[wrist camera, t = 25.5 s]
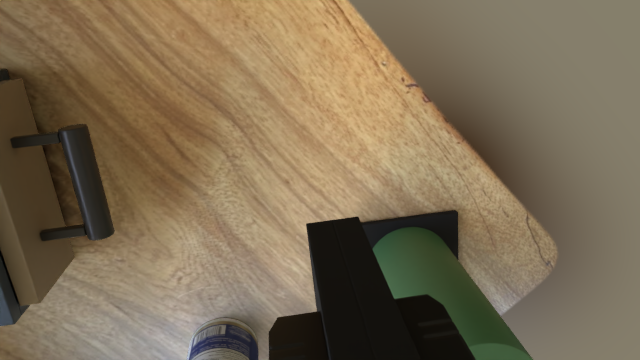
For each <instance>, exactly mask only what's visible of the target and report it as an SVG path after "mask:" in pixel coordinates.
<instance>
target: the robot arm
mask: <svg viewBox="0 0 640 360" xmlns="http://www.w3.org/2000/svg"><path fill="white" fill-rule="evenodd" d="M306 226H307V234H308V242H309V250H310V258H311V266H312V274H313V282H314V290H315V299H316V307H317V312H311V313H305V314H298V315H291V316H284V317H278V318H277V320H276V321H275V323H274V325H273V326H272V328H271V330H270V331H269V360H476V359H475V357H474V355H473V354H472V352H471V350H470V349H469V347H468V345H467V344H466V342H465V340H464V339H463V337H462V335H461V334H459V330H458V329H457V327H456V325H455V324H454V322H452V319H451V317H450V315H449V314H448V312H447V310H446V309H445V307H444V305H443V304H441V303H440V302H438V301H437V300H435V299H434V298H432V297H431V296H430V295H428V294H424V295H417V296H410V297H403V298H397V299H394V297H393V295H392V293H391V290H390V288H389V286H388V283H387V281H386V279H385V277H384V274H383V272H382V270H381V268H380V265H379V263H378V261H377V258H376V256H375V254H374V252H373V249H372V247H371V245H370V243H369V240H368V238H367V236H366V233H365V231H364V229H363V227H362V224H361V222H360V220H359V218H358V217H352V218H345V219H338V220H330V221H323V222H315V223H308V224H306Z"/></svg>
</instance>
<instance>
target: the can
mask: <svg viewBox="0 0 640 360" xmlns="http://www.w3.org/2000/svg"><path fill="white" fill-rule="evenodd" d="M373 252H374V254H375V256H376V258H377V261H378V263H379V265H380V268H381V270H382V272H383V274H384V277H385V279H386V281H387V283H388V286H389V288H390V290H391V293H392V295H393V297H394V299H397V298H403V297H410V296H417V295H424V294H428V295H430V296H431V297H432V298H434V299H435V300H437V301H438V302H440V303H441V304H443V305H444V307H445V309H446V310H447V312H448V314H449V315H450V317H451V319H452V322H454V324H455V325H456V327H457V329H458V330H459V334H461V335H462V337H463V339H464V340H465V342H466V344H467V345H468V347H469V349H470V350H471V352H472V354H473V355H474V357H475V359H476V360H533V359H532V358H531V356H530V355H529V354H528V352H527V351H526V350H525V348H524V347H523V346H522V344H521V343H520V342H519V340H518V339H517V338H516V336H515V335H514V334H513V332H512V331H511V330H510V328H509V327H508V326H507V325H506V323H505V322H504V321H503V319H502V318H501V317H500V315H499V314H498V313H497V311H496V310H495V309H494V307H493V306H492V305H491V303H490V302H489V301H488V299H487V298H486V297H485V295H484V294H483V293H482V291H481V290H480V289H479V287H478V286H477V285H476V283H475V282H474V281H473V279H472V278H471V277H470V276H469V274H468V273H467V272H466V270H465V269H464V268H463V266H462V265H461V264H460V262H459V261H458V260H457V258H456V257H455V256H454V254H453V253H452V252H451V250H450V249H449V248H448V246H447V245H446V244H445V242H444V241H443V240H442V239H441V238H440V237H439V236H438V235H437V234H435V233H434V232H432V231H430V230H427V229H424V228H419V227H406V228H401V229H398V230H395V231H393V232H390V233H389V234H387V235H385V236H384V237H383V238H382V239H380V240H379V241H378V242H377V244H376V245H375V246H374V247H373Z"/></svg>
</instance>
